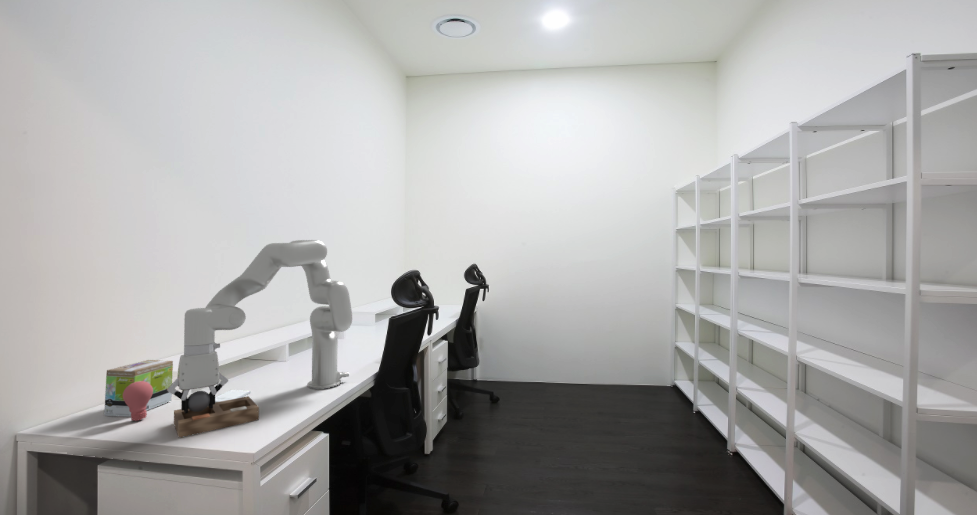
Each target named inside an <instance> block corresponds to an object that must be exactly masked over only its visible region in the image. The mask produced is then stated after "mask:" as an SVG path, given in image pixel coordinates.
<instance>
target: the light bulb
mask: <svg viewBox="0 0 977 515" xmlns="http://www.w3.org/2000/svg"><path fill="white" fill-rule="evenodd" d="M152 394H153V388H152V386H151V385H150V384H149V383H147V382H144V381H138V382H134V383H132V384H130V385H129V386H127V387H126V389H125V390H124V392H123V399H124V401H125V403H126V404H127V406H128V407H129V411H130V412H131V417H130V418H131V421H141V420H143V419H146V418H147V415H148V413H147V412H148V410H147V411H146V405H147V403H148V402H149V400H150V398H151V396H152Z"/></svg>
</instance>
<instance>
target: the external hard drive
mask: <svg viewBox="0 0 977 515" xmlns="http://www.w3.org/2000/svg"><path fill="white" fill-rule="evenodd" d="M250 393H252V392H251V390H245V389H244V390H242V389H241V390H240V389H230V390H227V391H225V392H223V393H222V394H219V395H217V396H216V395H215V403H216V402H221V401H226V400H231V399H237V398H242V397H247V396H248V395H250ZM246 395H247V396H246Z"/></svg>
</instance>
